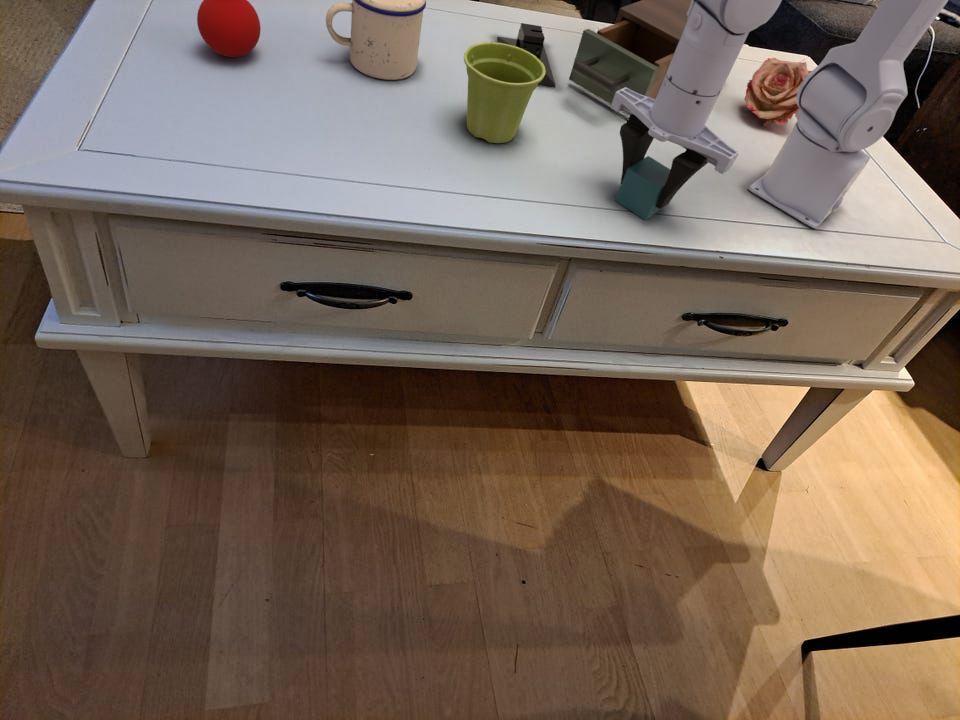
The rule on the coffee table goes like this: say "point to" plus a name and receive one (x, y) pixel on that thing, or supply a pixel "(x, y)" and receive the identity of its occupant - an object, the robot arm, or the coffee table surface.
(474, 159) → the coffee table surface
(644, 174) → the block
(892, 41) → the robot arm
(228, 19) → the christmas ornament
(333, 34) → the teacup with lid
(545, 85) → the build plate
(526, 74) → the plant pot
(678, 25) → the cabinet
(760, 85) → the flower
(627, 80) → the drawer
